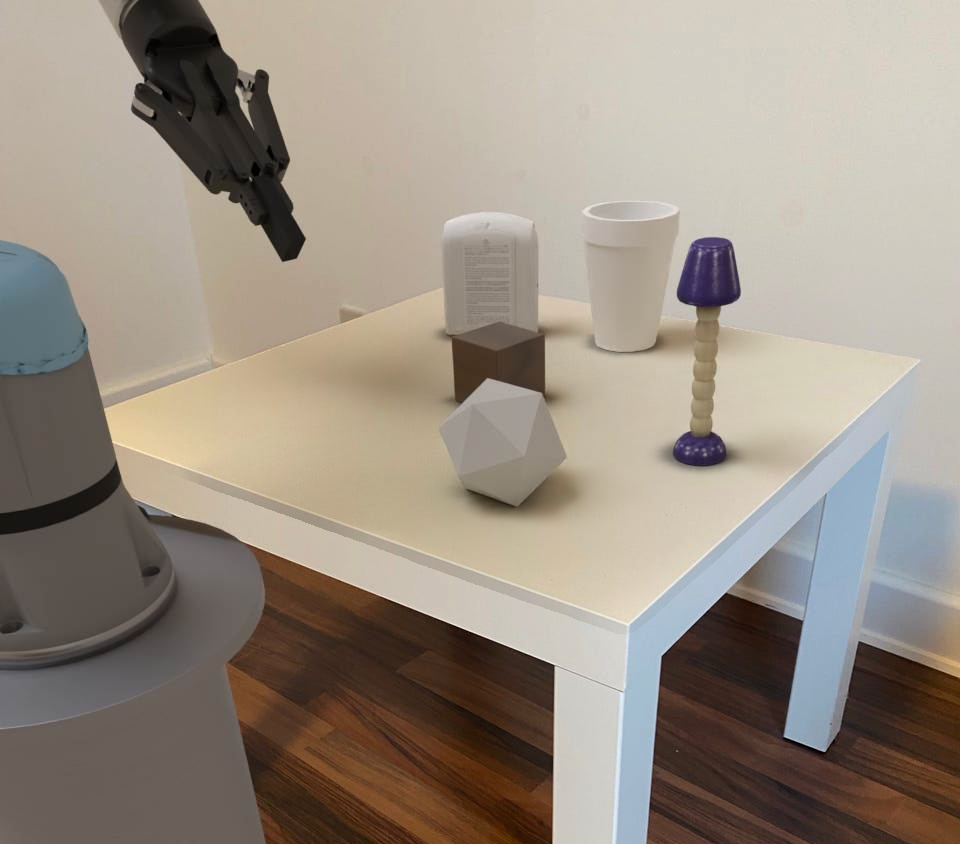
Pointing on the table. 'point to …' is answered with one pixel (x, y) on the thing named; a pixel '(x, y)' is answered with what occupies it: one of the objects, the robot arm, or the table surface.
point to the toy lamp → (706, 340)
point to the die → (503, 441)
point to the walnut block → (498, 358)
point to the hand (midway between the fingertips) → (294, 250)
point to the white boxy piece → (490, 272)
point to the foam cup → (628, 269)
